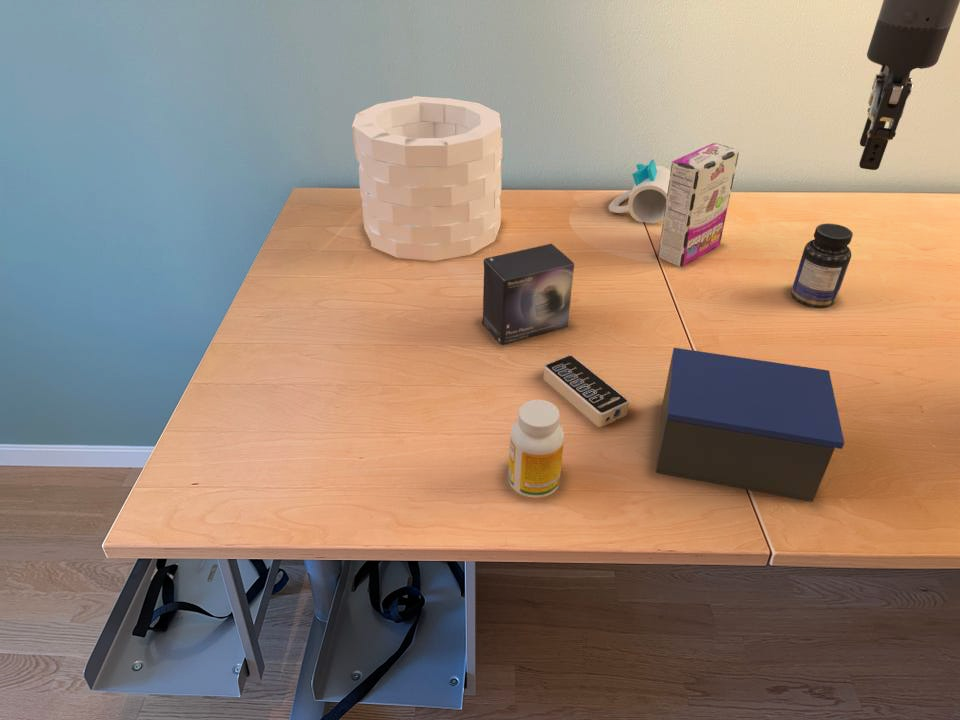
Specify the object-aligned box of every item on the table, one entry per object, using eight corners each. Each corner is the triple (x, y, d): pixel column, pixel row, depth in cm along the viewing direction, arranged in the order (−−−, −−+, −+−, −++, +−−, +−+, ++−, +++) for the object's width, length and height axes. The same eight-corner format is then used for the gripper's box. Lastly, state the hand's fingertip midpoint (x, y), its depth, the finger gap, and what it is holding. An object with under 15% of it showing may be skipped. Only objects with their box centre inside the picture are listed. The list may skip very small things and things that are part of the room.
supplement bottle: (498, 480, 73) (499, 411, 68) (533, 455, 76) (537, 387, 71) (535, 509, 70) (539, 439, 64) (570, 482, 73) (577, 413, 67)
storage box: (801, 429, 80) (820, 375, 75) (811, 504, 71) (835, 448, 66) (661, 406, 83) (672, 353, 78) (655, 475, 74) (666, 420, 69)
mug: (668, 145, 125) (661, 169, 116) (681, 192, 129) (675, 218, 120) (606, 163, 130) (594, 188, 121) (620, 208, 134) (609, 234, 125)
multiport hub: (569, 368, 89) (571, 353, 87) (628, 416, 81) (630, 401, 80) (541, 379, 87) (542, 365, 86) (599, 430, 80) (601, 415, 78)
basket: (488, 268, 110) (489, 150, 98) (343, 256, 113) (328, 140, 102) (511, 203, 129) (514, 98, 118) (387, 194, 133) (378, 91, 121)
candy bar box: (694, 237, 118) (713, 141, 108) (720, 247, 115) (742, 149, 105) (654, 258, 112) (670, 159, 102) (680, 270, 109) (700, 168, 99)
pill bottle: (805, 284, 105) (827, 216, 99) (843, 301, 101) (868, 232, 95) (781, 297, 103) (801, 228, 96) (818, 315, 99) (842, 245, 92)
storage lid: (827, 376, 75) (829, 370, 74) (842, 449, 66) (844, 443, 65) (672, 353, 78) (673, 347, 78) (666, 419, 69) (668, 413, 69)
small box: (501, 349, 92) (503, 280, 86) (480, 324, 97) (480, 257, 91) (570, 329, 96) (576, 262, 90) (546, 306, 101) (551, 241, 94)
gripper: (958, 33, 73) (902, 181, 83) (947, 9, 83) (898, 143, 93) (879, 27, 75) (834, 172, 85) (878, 4, 86) (837, 135, 96)
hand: (867, 156), depth 89 cm, fingers open, 8 cm apart
